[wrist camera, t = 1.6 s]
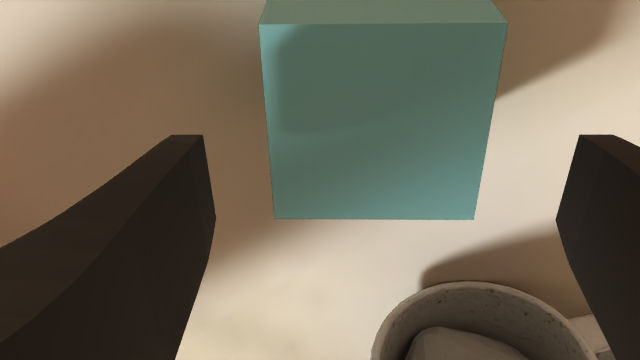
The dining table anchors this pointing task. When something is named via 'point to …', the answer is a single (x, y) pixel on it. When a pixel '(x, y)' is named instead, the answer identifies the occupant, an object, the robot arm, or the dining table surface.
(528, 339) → the ceramic mug
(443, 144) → the teal cube
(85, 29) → the dining table surface
